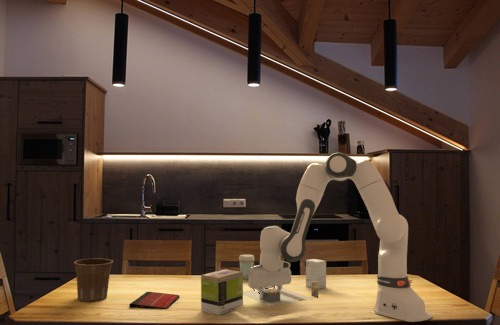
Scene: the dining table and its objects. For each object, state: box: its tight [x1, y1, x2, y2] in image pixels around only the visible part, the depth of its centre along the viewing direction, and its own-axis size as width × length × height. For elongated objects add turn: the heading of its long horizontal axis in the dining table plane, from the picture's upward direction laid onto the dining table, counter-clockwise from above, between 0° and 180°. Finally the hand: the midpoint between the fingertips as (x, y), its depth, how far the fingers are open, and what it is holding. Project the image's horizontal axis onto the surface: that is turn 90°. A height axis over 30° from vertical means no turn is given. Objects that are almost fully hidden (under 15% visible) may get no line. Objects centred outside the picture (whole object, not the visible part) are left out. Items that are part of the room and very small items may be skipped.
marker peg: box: [311, 281, 319, 298], centre depth 206 cm, size 3×3×7 cm
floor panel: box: [243, 286, 313, 307], centre depth 203 cm, size 26×22×2 cm
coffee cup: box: [238, 253, 255, 280], centre depth 246 cm, size 8×8×12 cm
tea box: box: [200, 268, 244, 316], centre depth 186 cm, size 15×10×15 cm, turn 141°
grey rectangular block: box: [260, 288, 280, 303], centre depth 196 cm, size 8×5×4 cm, turn 32°
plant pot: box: [73, 258, 114, 302], centre depth 201 cm, size 16×16×16 cm
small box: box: [305, 258, 327, 290], centre depth 227 cm, size 8×6×13 cm
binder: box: [128, 291, 180, 310], centre depth 196 cm, size 16×2×21 cm
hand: (269, 296), depth 196 cm, fingers open, 6 cm apart
